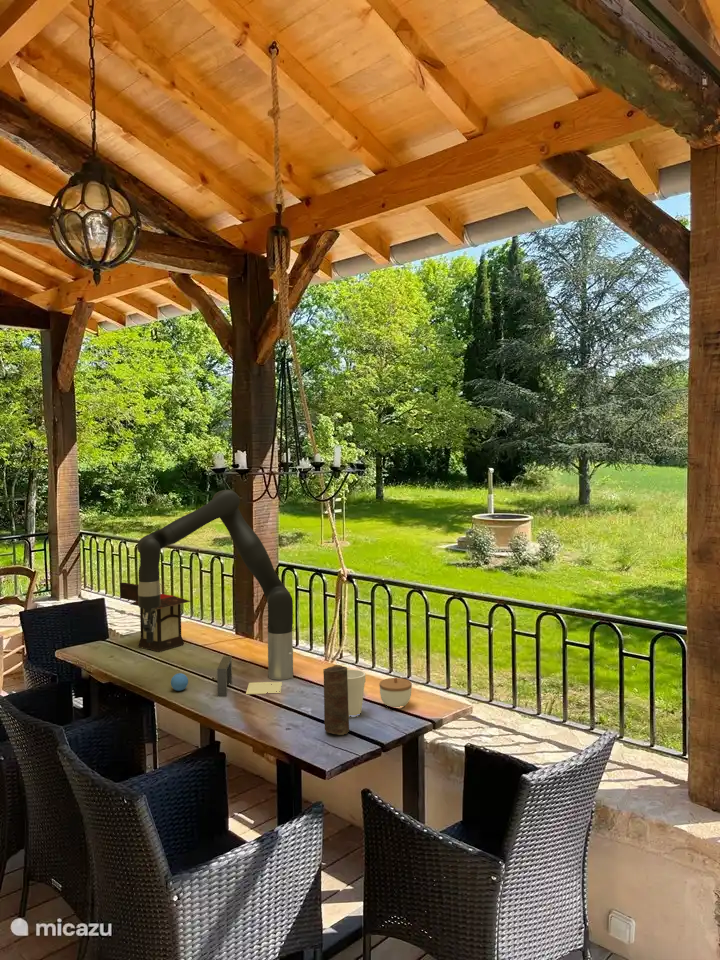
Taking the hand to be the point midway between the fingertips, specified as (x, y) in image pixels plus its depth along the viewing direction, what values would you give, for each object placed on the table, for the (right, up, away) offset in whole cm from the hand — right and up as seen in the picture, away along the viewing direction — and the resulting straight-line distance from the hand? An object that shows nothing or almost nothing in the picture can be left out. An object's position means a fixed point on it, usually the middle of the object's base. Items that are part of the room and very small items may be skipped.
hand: (150, 642), depth 251 cm
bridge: (+26, -17, +2) cm, 31 cm away
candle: (+67, -19, -38) cm, 79 cm away
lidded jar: (+86, -18, -16) cm, 89 cm away
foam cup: (+71, -18, -23) cm, 77 cm away
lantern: (-15, -16, +56) cm, 60 cm away
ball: (+10, -15, +1) cm, 18 cm away
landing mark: (+40, -17, +3) cm, 44 cm away
